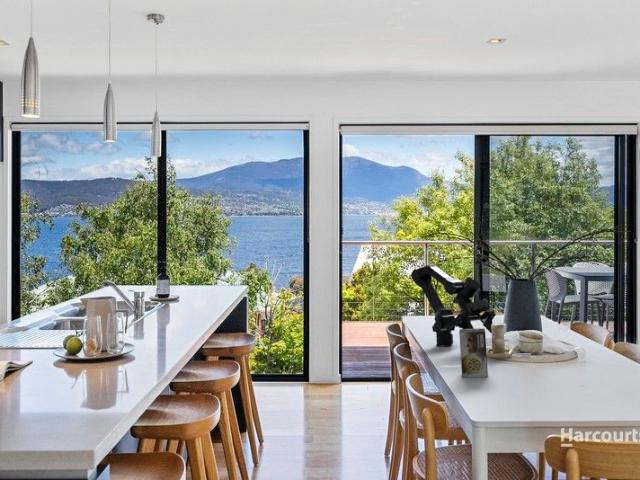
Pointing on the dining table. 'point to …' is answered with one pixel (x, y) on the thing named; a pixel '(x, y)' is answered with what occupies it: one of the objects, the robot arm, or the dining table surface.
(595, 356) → the dining table surface
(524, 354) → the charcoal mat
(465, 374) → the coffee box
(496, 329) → the disc
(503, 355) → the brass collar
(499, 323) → the shot glass
